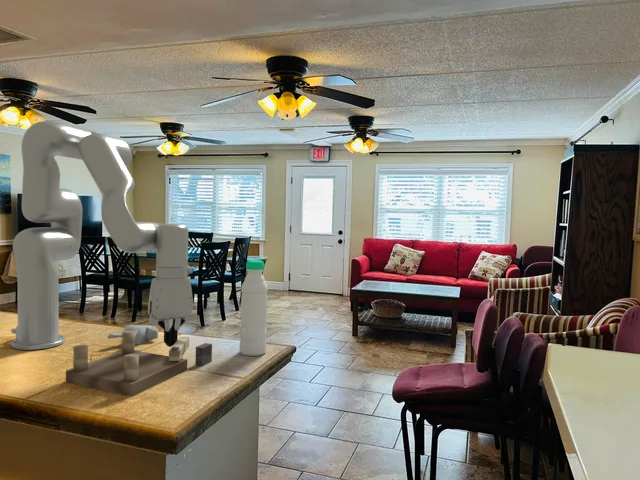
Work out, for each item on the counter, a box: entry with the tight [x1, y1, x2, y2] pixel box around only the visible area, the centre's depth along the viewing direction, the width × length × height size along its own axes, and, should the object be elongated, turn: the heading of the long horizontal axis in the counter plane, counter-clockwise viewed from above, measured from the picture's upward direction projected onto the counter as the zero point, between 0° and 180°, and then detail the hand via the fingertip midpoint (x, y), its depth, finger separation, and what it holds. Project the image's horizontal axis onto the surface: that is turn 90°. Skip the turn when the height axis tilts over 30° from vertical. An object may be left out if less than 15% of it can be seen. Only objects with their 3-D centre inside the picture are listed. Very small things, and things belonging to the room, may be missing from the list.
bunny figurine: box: [107, 324, 159, 346], centre depth 133 cm, size 10×5×15 cm
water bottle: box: [239, 259, 268, 357], centre depth 126 cm, size 7×7×25 cm
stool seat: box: [65, 330, 213, 397], centre depth 110 cm, size 19×26×8 cm
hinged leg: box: [168, 336, 190, 361], centre depth 115 cm, size 12×2×3 cm, turn 5°
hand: (170, 345), depth 119 cm, fingers closed
